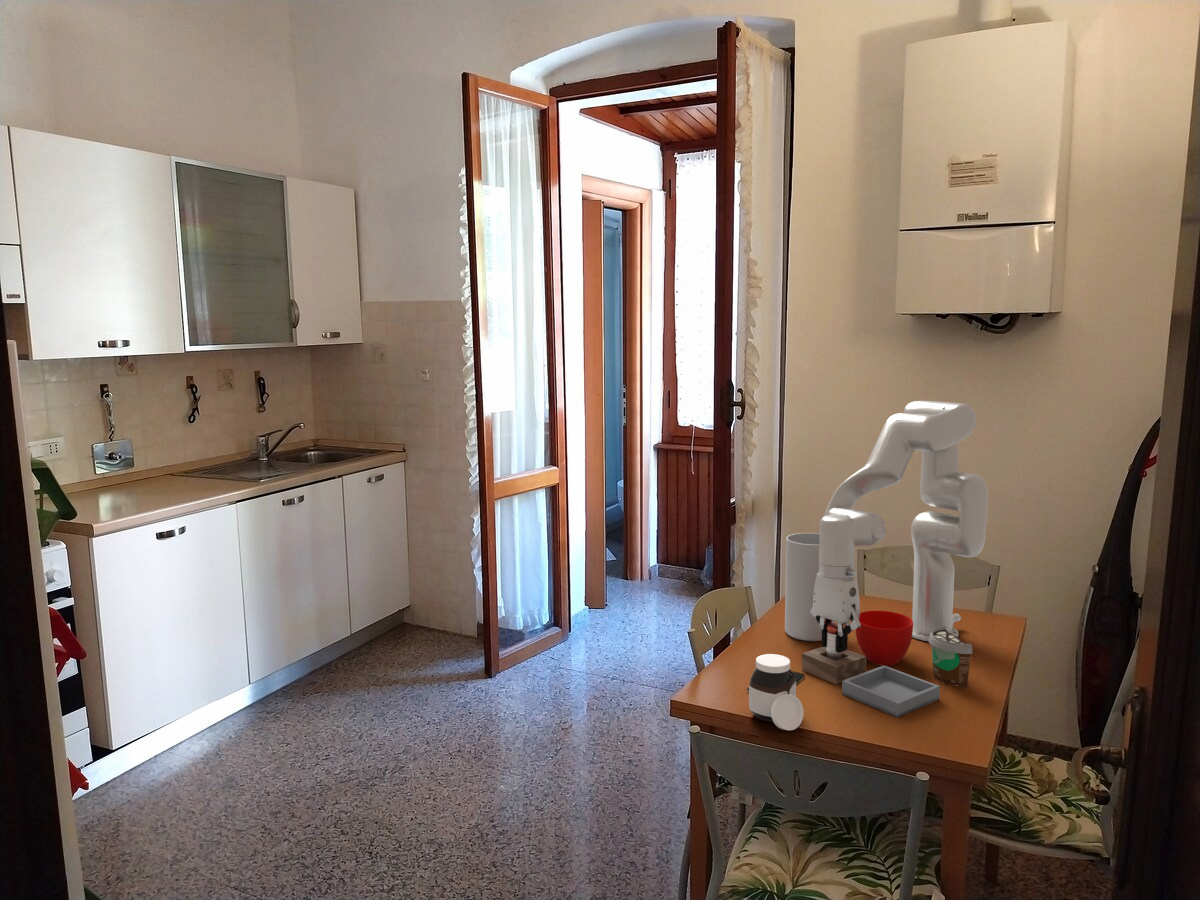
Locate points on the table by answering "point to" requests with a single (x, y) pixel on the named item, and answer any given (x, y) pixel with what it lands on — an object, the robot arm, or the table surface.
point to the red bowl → (884, 636)
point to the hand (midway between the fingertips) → (834, 647)
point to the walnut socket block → (833, 665)
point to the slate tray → (891, 690)
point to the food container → (950, 657)
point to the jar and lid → (775, 692)
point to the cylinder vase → (801, 586)
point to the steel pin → (832, 642)
